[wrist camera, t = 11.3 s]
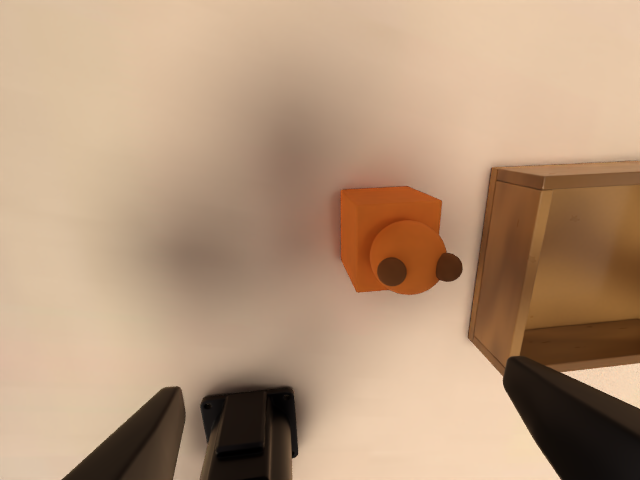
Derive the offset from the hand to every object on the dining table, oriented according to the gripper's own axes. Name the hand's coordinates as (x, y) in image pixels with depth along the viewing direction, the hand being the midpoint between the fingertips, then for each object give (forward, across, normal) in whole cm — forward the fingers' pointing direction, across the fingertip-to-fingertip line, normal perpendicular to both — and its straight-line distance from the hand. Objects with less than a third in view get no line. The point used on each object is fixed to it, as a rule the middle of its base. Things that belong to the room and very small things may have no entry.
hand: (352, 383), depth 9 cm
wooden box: (+12, -18, +2) cm, 22 cm away
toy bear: (+12, -4, -1) cm, 13 cm away
